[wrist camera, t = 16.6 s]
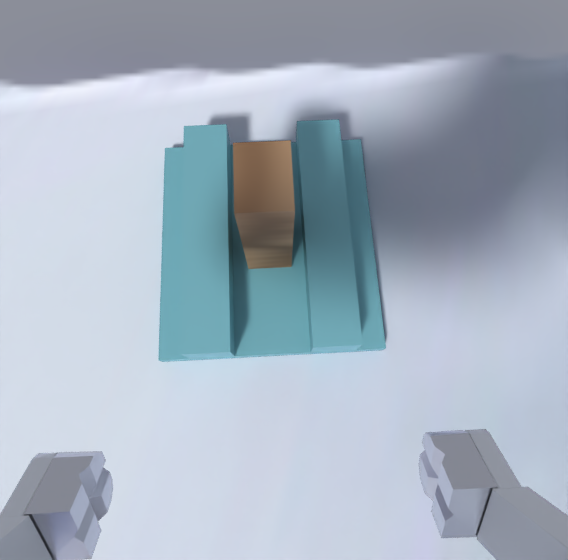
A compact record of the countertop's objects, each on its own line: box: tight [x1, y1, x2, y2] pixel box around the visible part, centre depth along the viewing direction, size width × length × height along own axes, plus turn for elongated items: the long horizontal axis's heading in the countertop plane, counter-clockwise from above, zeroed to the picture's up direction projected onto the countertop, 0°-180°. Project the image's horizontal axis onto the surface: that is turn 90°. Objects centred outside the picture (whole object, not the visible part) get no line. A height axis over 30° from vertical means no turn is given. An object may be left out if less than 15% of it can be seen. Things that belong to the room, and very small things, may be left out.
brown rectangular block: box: [233, 140, 295, 269], centre depth 26 cm, size 3×4×9 cm
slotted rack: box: [159, 119, 386, 362], centre depth 29 cm, size 15×16×4 cm
